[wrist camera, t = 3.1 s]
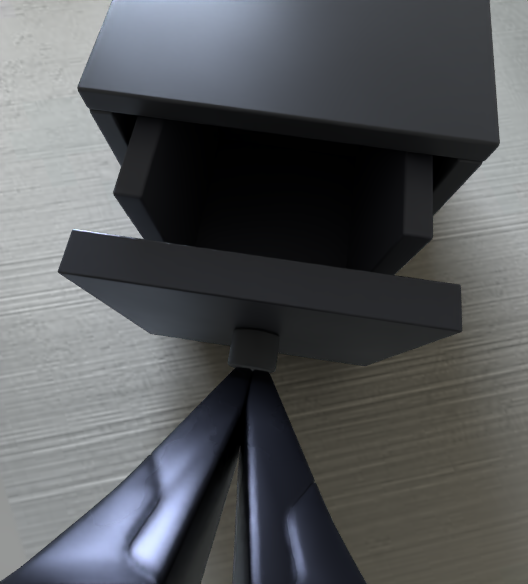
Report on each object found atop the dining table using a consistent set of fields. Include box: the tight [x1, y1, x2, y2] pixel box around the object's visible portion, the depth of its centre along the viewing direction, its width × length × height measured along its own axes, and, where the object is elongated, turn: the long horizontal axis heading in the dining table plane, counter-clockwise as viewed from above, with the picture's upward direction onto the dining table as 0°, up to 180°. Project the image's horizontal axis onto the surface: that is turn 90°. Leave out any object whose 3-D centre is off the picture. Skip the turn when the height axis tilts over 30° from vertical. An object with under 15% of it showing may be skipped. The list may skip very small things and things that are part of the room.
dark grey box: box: [78, 0, 500, 216], centre depth 15 cm, size 12×11×9 cm
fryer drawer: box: [58, 116, 462, 373], centre depth 13 cm, size 12×10×8 cm
